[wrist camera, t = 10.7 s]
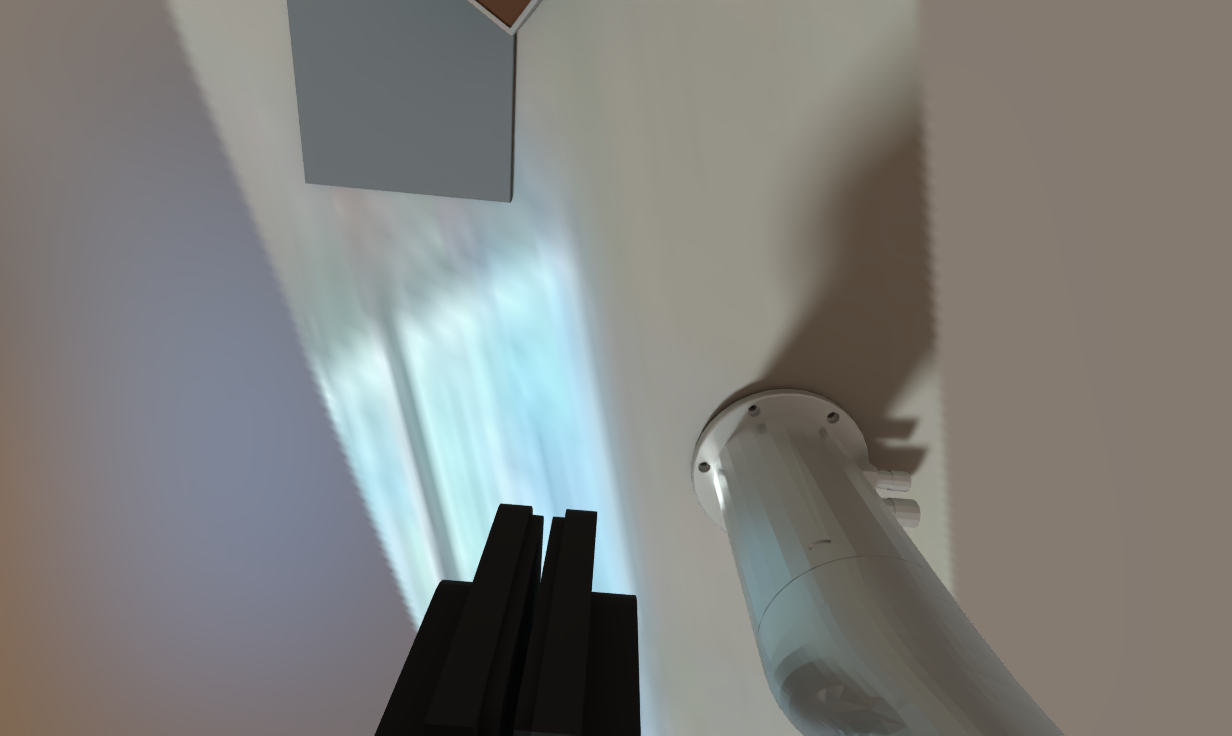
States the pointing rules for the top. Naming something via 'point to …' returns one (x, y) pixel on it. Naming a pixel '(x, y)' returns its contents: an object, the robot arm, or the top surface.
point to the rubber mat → (404, 96)
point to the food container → (507, 12)
